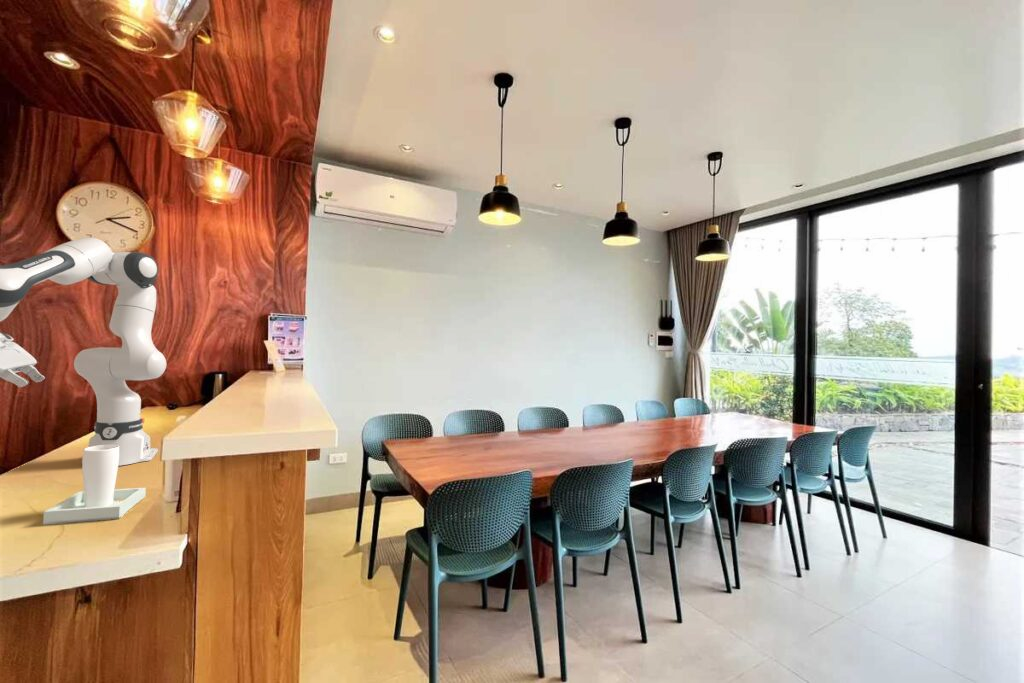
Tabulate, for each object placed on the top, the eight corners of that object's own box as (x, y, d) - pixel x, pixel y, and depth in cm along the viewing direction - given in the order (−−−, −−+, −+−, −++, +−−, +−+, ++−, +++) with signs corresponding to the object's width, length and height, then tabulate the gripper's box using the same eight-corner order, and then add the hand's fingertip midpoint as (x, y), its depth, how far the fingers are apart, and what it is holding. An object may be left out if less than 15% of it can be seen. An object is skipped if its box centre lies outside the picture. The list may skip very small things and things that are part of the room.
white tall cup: (115, 500, 115) (118, 443, 115) (118, 507, 110) (121, 448, 110) (79, 506, 110) (82, 446, 110) (80, 514, 105) (83, 452, 105)
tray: (79, 502, 113) (79, 491, 113) (145, 498, 118) (145, 487, 118) (43, 524, 100) (43, 511, 100) (119, 518, 105) (119, 506, 105)
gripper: (-32, 337, 100) (28, 378, 106) (11, 334, 118) (60, 370, 123) (-62, 356, 98) (0, 397, 103) (-13, 350, 116) (38, 386, 121)
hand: (33, 382), depth 114 cm, fingers open, 8 cm apart
